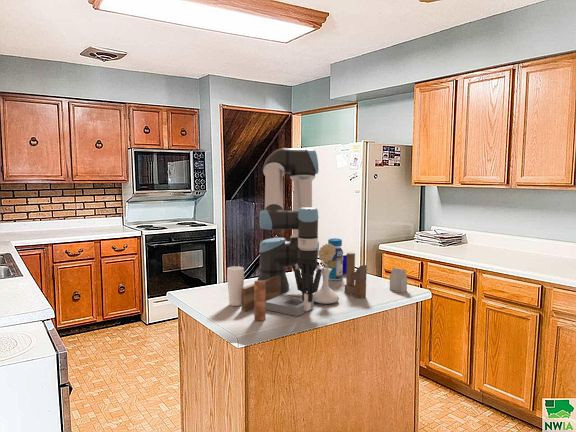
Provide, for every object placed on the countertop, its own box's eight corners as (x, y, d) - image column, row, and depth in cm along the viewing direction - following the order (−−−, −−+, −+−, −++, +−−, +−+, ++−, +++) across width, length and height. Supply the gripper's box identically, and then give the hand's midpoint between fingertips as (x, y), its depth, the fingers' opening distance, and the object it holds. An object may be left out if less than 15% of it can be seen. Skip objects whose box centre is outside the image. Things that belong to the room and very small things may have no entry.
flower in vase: (306, 299, 187) (307, 241, 185) (330, 296, 192) (331, 239, 189) (321, 308, 176) (322, 245, 173) (346, 305, 180) (347, 244, 178)
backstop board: (241, 310, 173) (241, 287, 172) (276, 296, 193) (276, 275, 192) (245, 311, 171) (245, 288, 171) (280, 297, 191) (280, 276, 190)
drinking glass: (228, 301, 184) (228, 266, 182) (245, 302, 184) (245, 266, 182) (226, 306, 177) (225, 269, 176) (243, 307, 177) (242, 270, 176)
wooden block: (359, 298, 190) (360, 256, 188) (344, 292, 199) (344, 252, 197) (366, 297, 191) (367, 256, 190) (350, 291, 201) (351, 252, 199)
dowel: (252, 319, 162) (252, 282, 161) (258, 316, 165) (258, 279, 164) (261, 322, 160) (261, 283, 158) (267, 318, 163) (267, 281, 162)
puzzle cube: (332, 275, 232) (332, 256, 231) (323, 271, 241) (323, 253, 240) (348, 273, 236) (349, 254, 235) (339, 269, 245) (339, 251, 244)
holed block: (264, 309, 174) (264, 301, 174) (281, 301, 184) (281, 294, 184) (296, 316, 166) (296, 308, 165) (313, 308, 176) (313, 300, 175)
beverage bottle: (324, 276, 228) (325, 238, 226) (340, 276, 229) (341, 237, 227) (327, 280, 219) (328, 240, 217) (344, 280, 220) (345, 240, 218)
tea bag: (401, 292, 199) (402, 270, 198) (389, 289, 205) (390, 267, 204) (406, 291, 201) (407, 269, 200) (394, 288, 207) (395, 266, 206)
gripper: (287, 248, 168) (287, 309, 171) (318, 252, 161) (317, 315, 164) (298, 245, 174) (297, 304, 177) (327, 248, 167) (327, 310, 170)
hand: (307, 309), depth 170 cm, fingers closed
